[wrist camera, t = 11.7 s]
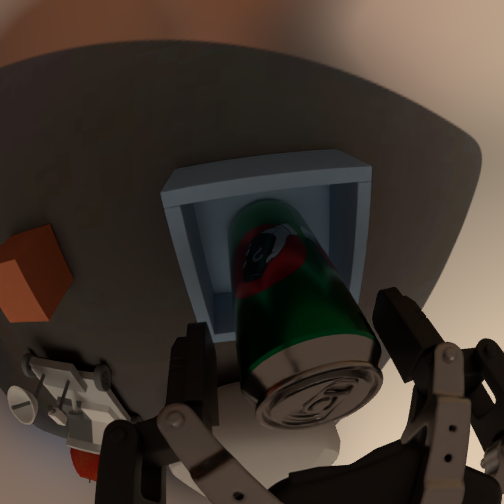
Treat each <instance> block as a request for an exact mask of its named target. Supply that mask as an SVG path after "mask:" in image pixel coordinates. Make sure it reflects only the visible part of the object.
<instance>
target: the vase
mask: <svg viewBox="0 0 504 504" xmlns="http://www.w3.org/2000/svg"><path fill="white" fill-rule="evenodd" d="M218 408H219V426H212V432H213V435H214V436H215V437H216V439H217V440H218V441H219V442H220V443H221V444H222V445H223V446H224V448H225V449H226V450H227V451H229V452H230V453H231V454H232V455H233V456H234V457H235V458H236V459H237V460H238V461H239V462H240V463H241V465H242V466H243V467H244V468H245V469H246V470H247V471H248V472H249V473H250V474H251V475H252V476H253V477H255V478H256V479H257V480H258V481H259V482H260V483H261V484H262V485H263V486H264V487H265V488H266V489H268V488H270V487H271V486H272V485H274V484H275V483H277V482H279V481H281V480H283V479H285V478H287V477H288V476H289V473H290V472H295V471H300V470H305V469H309V468H314V467H318V466H331V465H332V464H333V463H334V461H335V460H336V459H337V457H338V455H339V449H340V438H339V435H338V433H337V430H336V427H335V424H334V423H330V424H327V425H324V426H320V427H316V428H311V429H305V430H296V431H282V430H275V429H271V428H268V427H265V426H263V425H262V424H260V423H259V421H258V420H257V418H256V416H255V409H254V408H253V407H252V406H251V405H250V404H249V403H248V402H247V401H246V400H245V398H244V397H243V395H242V393H241V389H240V382H234V383H230V384H226V385H223V386H220V387H218ZM169 467H170V469H171V471H172V473H173V474H174V475H175V476H176V477H177V478H178V479H180V480H181V481H183V482H184V483H186V484H187V485H188V486H190V487H191V488H193V489H194V490H196V491H197V492H199V493H200V494H202V495H204V494H203V492H202V491H201V490H200V489H199V488H198V486H197V485H196V484H195V483H194V481H193V480H192V478H191V476H190V473H189V471H188V470H187V469H186V467H185V466H184V465H183V463H182V462H181V461H180V462H176V463H173V464H169ZM204 496H205V495H204ZM205 497H206V496H205Z"/></svg>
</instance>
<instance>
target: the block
mask: <svg viewBox="0 0 504 504" xmlns="http://www.w3.org/2000/svg"><path fill="white" fill-rule="evenodd" d="M73 279H74V278H73V276H72V274H71V272H70V270H69V268H68V266H67V263H66V261H65V259H64V257H63V254H62V252H61V250H60V248H59V245H58V243H57V240H56V238H55V235H54V233H53V230H52V228H51V225H50V224H47V225H44V226H41V227H38V228H34V229H31V230H28V231H25V232H22V233H19V234H16V235H13V236H11V237H10V238H9V239H8V240H7V241H6V242H5V243H4V244H3V245H2V246H1V247H0V308H1V309H2V311H3V312H4V314H5V315H6V317H7V319H8V320H9V322H38V321H50V319H51V317H52V315H53V313H54V311H55V310H56V308H57V306H58V304H59V303H60V301H61V299H62V297H63V296H64V294H65V292H66V291H67V289H68V287H69V286H70V284H71V283H72V281H73Z"/></svg>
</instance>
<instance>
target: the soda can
mask: <svg viewBox="0 0 504 504" xmlns="http://www.w3.org/2000/svg"><path fill="white" fill-rule="evenodd" d="M227 241H228V255H229V268H230V281H231V294H232V306H233V317H234V328H235V339H236V350H237V360H238V370H239V380H240V389H241V393H242V395H243V397H244V398H245V400H246V401H247V402H248V403H249V404H250V405H251V406H252V407H253V408H254V409H255V416H256V418H257V420H258V421H259V423H260V424H262V425H263V426H265V427H268V428H271V429H275V430H282V431H296V430H305V429H311V428H316V427H320V426H324V425H327V424H330V423H333V422H335V421H338V420H340V419H342V418H344V417H346V416H349V415H350V414H352V413H354V412H356V411H357V410H359V409H360V408H362V407H363V406H364V405H366V404H367V403H368V402H369V401H370V400H371V399H372V398H374V396H375V395H376V394H377V393H378V391H379V390H380V388H381V386H382V384H383V374H382V371H381V370H380V368H379V365H380V360H381V346H380V343H379V341H378V340H377V338H376V336H375V334H374V332H373V331H372V329H371V327H370V325H369V323H368V322H367V320H366V318H365V316H364V315H363V313H362V311H361V310H360V308H359V306H358V304H357V303H356V301H355V299H354V298H353V296H352V294H351V293H350V291H349V289H348V288H347V286H346V284H345V283H344V281H343V279H342V278H341V276H340V274H339V273H338V271H337V270H336V268H335V266H334V265H333V263H332V262H331V260H330V258H329V257H328V255H327V254H326V252H325V251H324V249H323V247H322V246H321V244H320V243H319V241H318V240H317V238H316V237H315V235H314V234H313V232H312V231H311V229H310V228H309V226H308V225H307V223H306V222H305V220H304V219H303V217H302V216H301V214H300V213H299V212H298V211H297V210H296V209H295V208H294V207H292V206H291V205H289V204H287V203H284V202H281V201H276V200H264V201H259V202H256V203H253V204H251V205H249V206H247V207H245V208H244V209H243V210H241V211H240V212H239V213H238V214H237V215H236V217H235V218H234V219H233V221H232V223H231V225H230V227H229V230H228V236H227Z"/></svg>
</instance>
